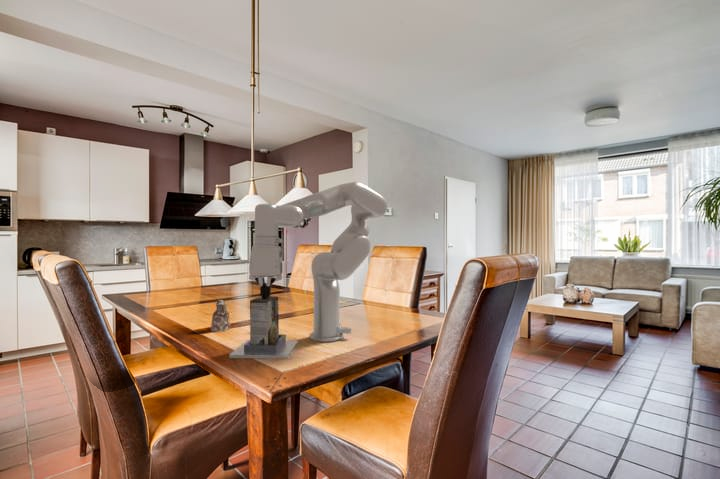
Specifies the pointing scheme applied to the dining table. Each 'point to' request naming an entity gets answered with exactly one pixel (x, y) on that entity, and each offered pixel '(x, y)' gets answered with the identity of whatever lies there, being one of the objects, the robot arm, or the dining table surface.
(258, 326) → the coffee box
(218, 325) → the figurine
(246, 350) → the locating jig
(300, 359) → the dining table surface
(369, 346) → the dining table surface
